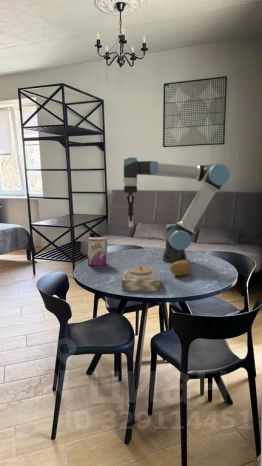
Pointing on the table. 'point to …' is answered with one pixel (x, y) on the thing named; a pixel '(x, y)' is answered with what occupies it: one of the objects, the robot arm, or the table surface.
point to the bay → (140, 284)
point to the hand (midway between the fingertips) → (130, 226)
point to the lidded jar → (141, 273)
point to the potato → (180, 267)
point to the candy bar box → (97, 251)
